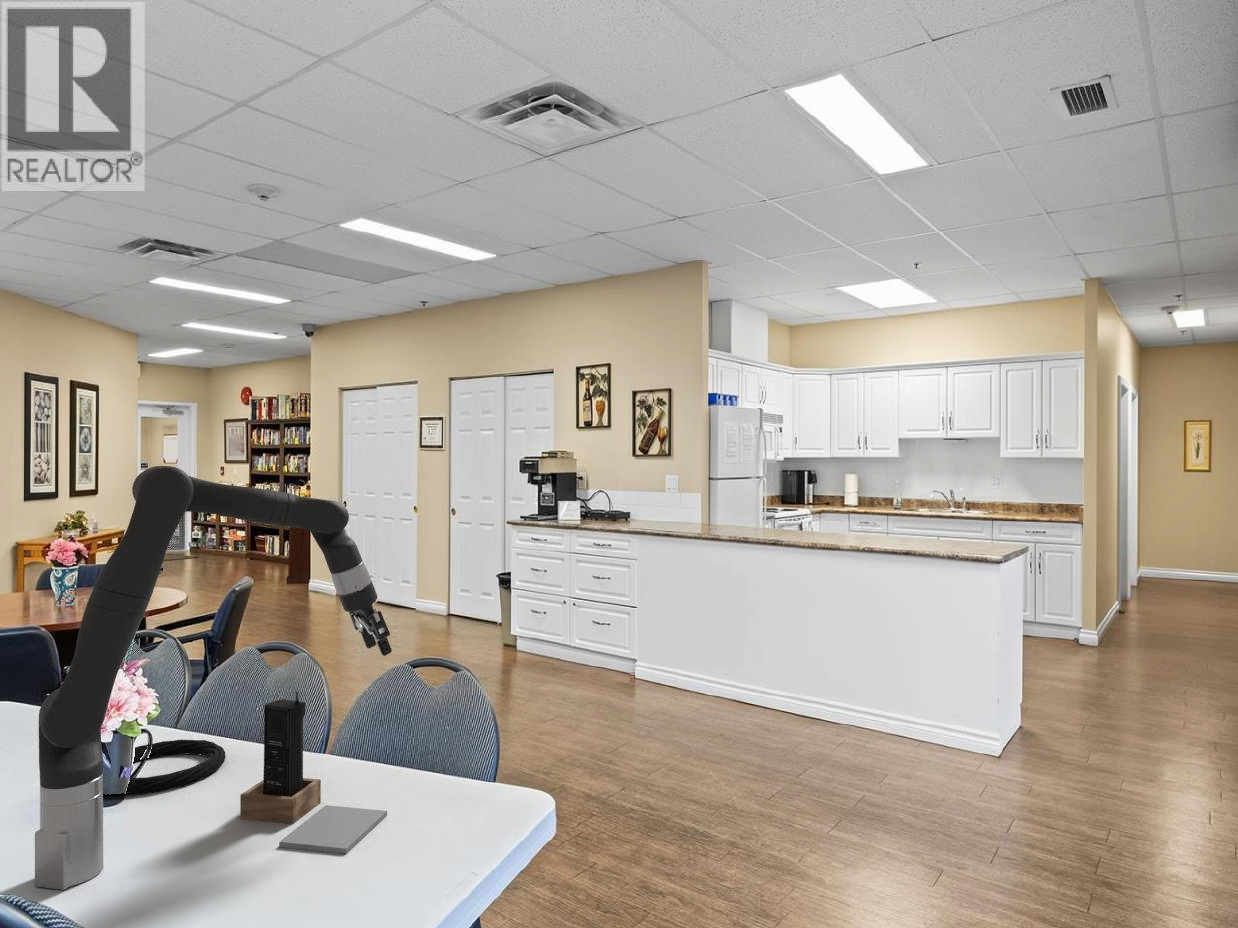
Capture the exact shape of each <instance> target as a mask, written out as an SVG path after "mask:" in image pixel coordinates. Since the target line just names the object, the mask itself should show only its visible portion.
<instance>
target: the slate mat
mask: <svg viewBox="0 0 1238 928" xmlns="http://www.w3.org/2000/svg"><path fill="white" fill-rule="evenodd" d="M387 816H388V810H384V809H383V810H381V809H380V810H379V809H371V808H370V809H368V808H362V807H359V808H358V807H348V806H339V805H330V804H329V805H328V804H327V805H323V806H322V808H320V809H319V810H318V811H316V812H315V813H314V814H312V816H311V815H310V817H309V818H307V819H305V821H303V822H302V823H301V824H300V825H299V826H297V827H296V828H295V829H293V830H292V831H291V832H290V833H288V834H287V835H286V836H285V837H283V838H282V839H280V840H279V846H278V847H279V848H285V849H294V850H298V849H299V850H304V851H305V850H306V851H315V852H325V853H335V854H344V855H345V854H346V855H347V854H349V852H350V851H352V850H353V849H354V848H355V847H356V846H357V845H358V844H360V842H361V841H362V840H363V839H364V838H366V836H367V835H369V833H371V832H372V831H373V830H374V829H375V828H376V827H377V826H378V825H379V824H380V823H381V822H382V821H384V819H385V818H387Z"/></svg>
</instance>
